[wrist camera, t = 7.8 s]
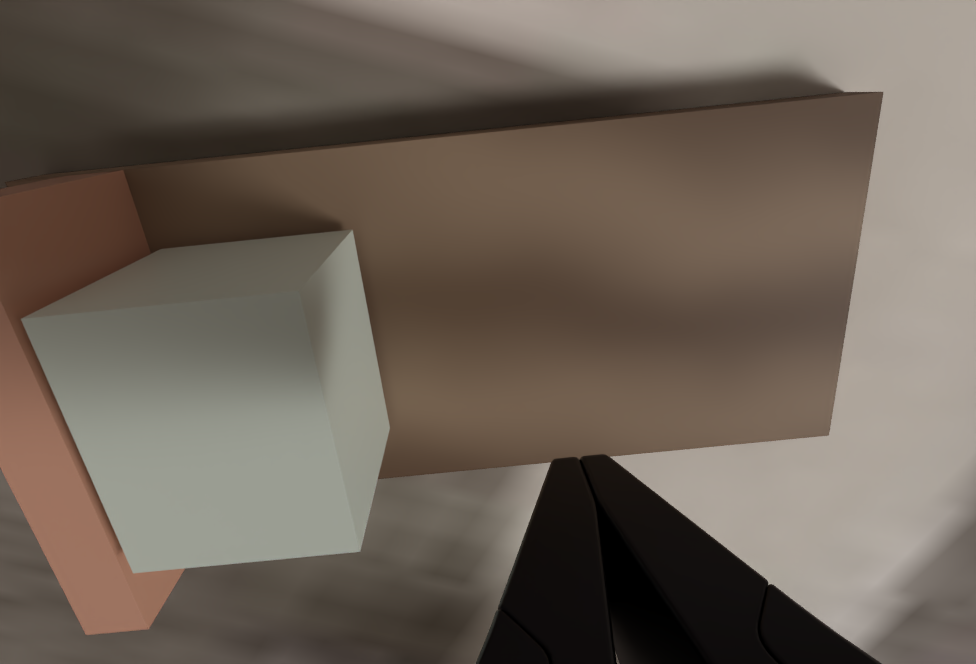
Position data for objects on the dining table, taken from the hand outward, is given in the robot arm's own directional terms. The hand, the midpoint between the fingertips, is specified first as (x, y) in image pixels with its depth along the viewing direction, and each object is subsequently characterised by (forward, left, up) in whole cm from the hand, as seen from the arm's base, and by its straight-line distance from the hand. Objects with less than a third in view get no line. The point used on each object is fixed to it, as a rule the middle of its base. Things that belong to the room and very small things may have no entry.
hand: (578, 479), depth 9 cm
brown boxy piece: (0, +2, -9) cm, 9 cm away
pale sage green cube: (0, +7, -7) cm, 10 cm away
